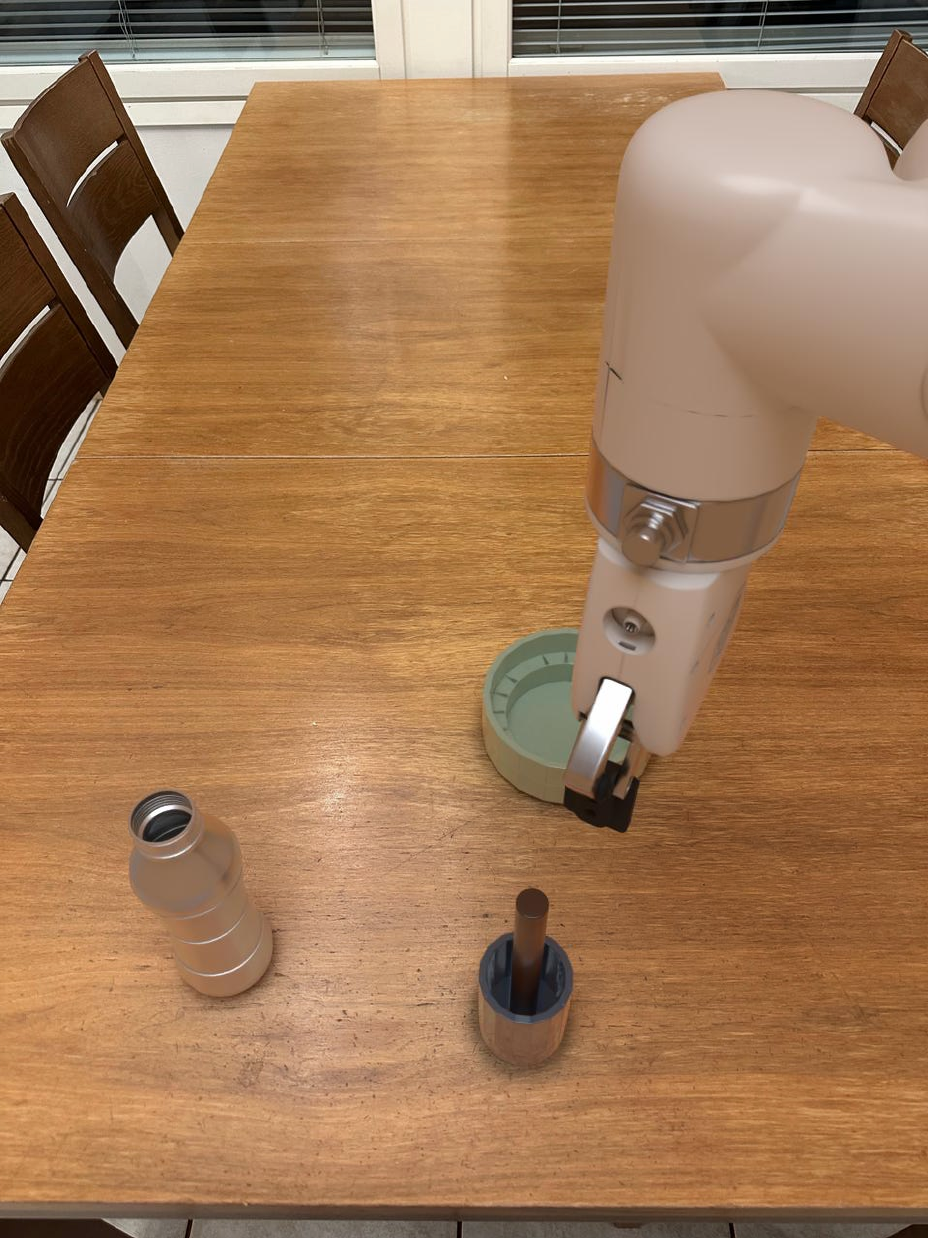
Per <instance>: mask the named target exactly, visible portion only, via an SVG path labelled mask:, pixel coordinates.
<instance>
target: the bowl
mask: <svg viewBox="0 0 928 1238" xmlns="http://www.w3.org/2000/svg"><path fill="white" fill-rule="evenodd" d="M579 630H580V628H574V627H561V628H559V627H558V628H551V629H542V630H539V631H536V632H533V633H531V634H529V635H526V636H525V635H524V636H523V637H520V638H518V639H516V641H514V642H513V643H511V644H510V645H509V646H507V647H506V648H504V649H503V650H502V651H500V652H499V653H498V655H497V656H496V658H495V659H494V661H493V662H492V664H491V665H490V666H489V668H488V670H487V671H486V673H485V678H484V683H483V687H482V692H481V711H482V712H481V717H482V718H481V723H482V724H481V730H482V731H481V732H482V737H483V742H484V747H485V748H484V749H485V751H486V754H487V755H488V757H489V759H490V761H491V762H492V764H493V765H494V767H495V769H496V771H497V772H498V773H499V774H500V775H501V776H502V777H503V778H505V779H506V780H507V782H509V783H510V784H511V785H512V786H513V787H515V788H516V789H517V790H519V791H522V792H524V793H525V794H527V795H530V796H532V797H534V798H536V799H539V800H540V801H544V802H550V803H554V804H555V803H556V804H562V805H564V804H563V801H564V792H565V784H564V783H563V782H562V779H563V775H564V772H565V770H566V767H567V764H568V760H569V758H570V755H571V752H572V749H573V746H574V743H575V741H576V738H577V735H578V732H579V729H580V726H581V723H582V721H583V720H582V721H581V722H578V721H577V719H576V717H575V715H574V713H573V710H572V706H571V688H572V676H573V668H574V661H575V654H576V648H577V642H578V636H579ZM632 710H633V705H631V706H630V709H629V711H628V713H627V716H626V718H625V719H628V720H630V721H631V715H632ZM629 744H630V741H627V740H625V739H622V738H620V737H617V739H616V742H615V744H614V746H613V749H612V751H611V753H610V756H609V758H608V760H610V761H613V762H615V763H617V764H620V765H622V763H623V761H624V758H625V755H626V752H627V750H628V747H629ZM652 755H653V753H651V752H648V751H645V750H644V751H643V753H642V756H641V759H640V762H639V764H638V767H637V770H636V773H635V775H634V776H635V777H636V778H637V779H639V778H640V777H641V776H642V775H643V773H644V772H645V769H646V767H647V765H648V763H649V761H650V759H651V757H652Z"/></svg>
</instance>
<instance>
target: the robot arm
mask: <svg viewBox="0 0 928 1238" xmlns="http://www.w3.org/2000/svg"><path fill="white" fill-rule="evenodd" d="M618 173H619V174H618V180H617V181H618V182H617V187H616V193H615V201H614V202H615V203H614V213H613V221H612V229H611V230H612V231H611V241H610V250H609V259H608V269H607V280H606V289H605V298H604V306H603V307H604V308H603V317H602V327H601V334H600V335H601V337H600V344H599V345H600V347H599V355H598V363H597V365H598V366H597V375H596V383H595V393H594V402H593V410H592V411H593V412H592V420H591V421H592V422H591V423H592V424H591V433H590V441H589V449H588V450H589V451H588V459H587V469H586V479H585V488H584V497H583V498H584V499H583V500H584V502H583V503H584V507H585V508H584V509H585V513H586V515H587V518H588V520H589V522H590V524H591V525H592V527H593V528H594V530H595V531H596V533H597V534H598V539H597V543H596V547H595V552H594V556H593V560H592V564H591V565H592V566H591V571H590V574H589V576H588V579H587V582H588V584H587V589H586V593H585V594H586V595H585V599H584V604H583V608H582V609H583V610H582V615H581V619H580V625H579V629H580V630H579V636H578V642H577V648H576V654H575V661H574V668H573V676H572V688H571V706H572V710H573V713H574V715H575V717H576V719H577V721H578V722H581V721H582V720H583V721H582V723H581V726H580V729H579V732H578V735H577V738H576V741H575V743H574V746H573V749H572V752H571V755H570V758H569V760H568V764H567V767H566V770H565V772H564V775H563V779H562V782H563V783H564V784H565V792H564V801H563V804H562V805H563V806H564V807H565V809H567V810H569V811H570V812H572V813H574V814H575V816H576V817H577V818H578V819H579V820H580V821H582V822H584V823H586V824H588V825H589V826H593V827H595V828H600V829H602V828H608V829H610V830H612V831H615V832H616V833H620V834H626V833H627V831H628V828H629V826H630V825H631V822H632V818H633V813H634V808H635V805H636V801H637V797H638V793H639V792H638V791H639V787H640V782H641V780H639V778H636V777H635V776H634V775H635V773H636V770H637V767H638V764H639V762H640V759H641V756H642V753H643V751H644V750H645V751H648V752H651V753H652V755H656V756H659V757H662V758H664V757H669V756H670V755H672V754H674V753H676V752H677V751H678V750H679V749H680V748H681V746H682V744H683V742H684V740H685V739H686V736H687V735H688V733H689V732H690V731H689V730H690V729H691V726H692V724H693V722H694V720H695V718H696V716H697V714H698V712H699V710H700V707H701V705H702V703H703V701H704V699H705V698H706V695H707V693H708V690H709V688H710V686H711V684H712V682H713V679H714V678H715V676H716V674H717V671H718V668H719V667H720V665H721V663H722V660H723V657H724V655H725V653H726V651H727V649H728V646H729V644H730V642H731V640H732V637H733V634H734V633H735V630H736V627H737V624H738V621H739V618H740V615H741V612H742V608H743V603H744V600H745V595H746V590H747V587H748V583H749V579H750V574H751V571H752V567H753V564H754V562H756V561H758V560H759V559H761V558H762V557H763V556H764V555H766V554H768V553H769V552H770V551H771V550H772V549H773V548H774V547H775V546H776V544H777V543H778V542H779V540H780V539H781V537H782V534H783V532H784V529H785V526H786V524H787V518H788V516H789V513H790V510H791V507H792V504H793V500H794V499H795V498H794V497H795V494H796V493H797V492H796V491H797V489H798V485H799V482H800V478H801V476H802V473H803V470H804V466H805V463H806V460H807V456H808V452H809V449H810V446H811V443H812V440H813V436H814V434H815V431H816V427H817V424H818V421H819V418H820V417H822V418H825V419H828V420H829V421H832V422H834V423H837V424H840V425H842V426H844V427H847V428H849V429H851V430H853V431H856V432H858V433H861V434H863V435H865V436H867V437H870V438H873V439H874V440H877V441H879V442H882V443H884V444H886V445H889V446H890V447H892V448H895V449H897V450H900V451H903V452H905V453H907V454H909V455H913V456H916V457H918V458H922V459H924V460H926V461H928V118H927V119H925V120H924V121H923V122H922V123H921V125H919V127H918V129H917V130H916V131H915V132H914V134H913V135H912V136H911V138H910V139H909V141H908V142H907V143H906V144H905V146H904V148H903V150H902V151H901V154H900V155H899V157H898V159H897V160H896V162H895V165H894V167H893V169H892V167H891V164H890V161H889V157H888V154H887V151H886V147H885V146H884V142H883V141H882V140H881V138H880V137H879V135H878V134H877V132H876V131H875V130H874V129H872V127H871V126H870V125H869V124H868V123H867V122H865V120H863V119H862V118H860V116H858V115H857V114H854V113H852V112H850V111H849V110H847V109H845V108H842V107H840V106H838V105H836V104H833V103H829V102H826V101H824V100H821V99H818V98H814V97H811V96H806V95H802V94H798V93H792V92H787V91H780V90H770V89H750V88H748V89H744V88H743V89H725V90H715V91H710V92H703V93H699V94H695V95H691V96H686V97H683V98H681V99H678V100H675V101H672V102H671V103H669V104H666V106H664V107H662V108H660V109H659V110H657V111H656V112H654V113H652V114H651V115H650V116H649V117H648V118H647V119H646V120H644V122H643V123H641V126H640V127H638V129H637V130H636V131H635V132H634V134H633V136H632V137H631V139H630V141H629V143H628V145H627V147H626V149H625V152H624V153H623V158H622V160H621V163H620V168H619V172H618ZM631 705H633V710H632V715H631V721H630V720H628V719H625V718H626V716H627V713H628V711H629V709H630V706H631ZM617 737H620V738H622V739H625V740H627V741H630V744H629V747H628V750H627V752H626V755H625V758H624V761H623V763H622V765H620V764H617V763H615V762H613V761H610V760H608V758H609V756H610V753H611V751H612V749H613V746H614V744H615V742H616V739H617Z"/></svg>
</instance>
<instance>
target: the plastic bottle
mask: <svg viewBox="0 0 928 1238" xmlns="http://www.w3.org/2000/svg"><path fill="white" fill-rule="evenodd" d="M127 827H128V832H129V834H130V836H131V838H132V843H133V844H134V845H133V846H132V849H131V852H130V855H129V859H128V860H129V861H128V880H129V885H130V887H131V888H130V889H131V890H132V892H133V894H134V895H135V896H136V897H137V899H138V900H139V902H141V904H142V905H143V906H144V907H145V908H146V909H147V910H148V911H150V913H151V914H152V915H153V916H155V917H156V919H158V920H159V921H160V923H161V924H162V926H163V927H164V928H165V930H166V932H167V933H168V935H169V938H170V939H169V940H170V942H171V944H172V954H173V959H174V962H175V964H174V965H175V967H176V969H177V971H178V974H179V976H180V977H181V978H182V980H183V981H184V982H185V983H186V984H188V985H189V987H190V986H191V987H192V988H193V989H195V991H197V992H199V993H201V994H203V995H205V996H210V997H214V998H225V997H231V996H234V995H238V994H241V993H243V992H245V991H246V990H248V989H250V988H251V987H252V986H254V985H255V984H256V983H258V982H259V980H260V979H261V978H262V977H263V976H264V975H265V973H266V971H267V969H268V968H269V966H270V963H271V961H272V957H273V951H274V936H273V934H274V933H273V930H272V927H271V923H270V922H269V920H268V918H267V917H266V916H265V914H264V913H263V911H262V910H261V908H259V907H258V906H257V905H256V904H255V903H254V902H253V900H252V898H251V896H250V895H249V893H248V890H247V887H246V883H245V878H244V867H243V866H244V864H243V854H242V850H241V845H240V841H239V839H238V837H237V835H236V834H235V831H233V830H232V828H230V826H229V825H227V824H226V823H225V822H224V821H223V820H221V819H220V818H218V817H217V816H215V815H212V814H211V813H208V812H202V811H200V809H199V807H197V806H196V804H195V802H194V800H193V799H192V798H191V797H190V796H189V795H188V794H187V793H186V792H184V791H182V790H179V789H174V788H163V789H157V790H154V791H152V792H149V793H148V794H146V795H144V796H142V797H141V798H140V799H139V800H137V802H136V803H135V804H134V805H133V806H132V808H131V810H130V812H129V814H128V818H127Z"/></svg>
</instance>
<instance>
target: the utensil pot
mask: <svg viewBox="0 0 928 1238" xmlns="http://www.w3.org/2000/svg"><path fill="white" fill-rule="evenodd" d="M513 938H514V930H513V931H510V932H507V933H504V934H501V935H500V936H499V937H498V938H496V939H495V940H494V941H492V942H491V943H490V944H488V946H487V948H486V950H485V951H484V954H483V955H482V957H481V958H480V961H479V967H478V979H477V982H478V983H477V984H478V985H477V988H478V990H477V991H478V993H477V994H478V997H477V998H478V1002H477V1003H478V1004H477V1005H478V1008H477V1009H478V1024H479V1025H478V1026H479V1031H480V1035H481V1038H482V1040H483V1042H484V1043H485V1046H486V1047H487V1048H488V1049H489V1051H490V1052H491V1053H492V1055H494V1056H496V1057H497V1058H498V1059H500V1060H501V1061H503V1062H505V1063H507V1064H511V1065H513V1066H521V1067H526V1066H533V1065H537V1064H539V1063H542V1062H544V1061H546V1060H547V1059H548V1058H550V1057H551V1056H552V1055H553V1054H554V1053H555V1052H556V1050H557V1049H558V1048H559V1046H560V1045H561V1043H562V1040H563V1038H564V1033H565V1028H566V1026H567V1022H568V1016H569V1012H570V1007H571V1002H572V995H573V991H574V969H573V966H572V964H571V961H570V957H569V955H568V953H567V952H566V951H565V949H564V948H563V947H562V946H561V945H560V944H559V943H558V941H556V940H555V939H554V938H552V937H550V936H548V935H546V936H545V944H544V952H543V961H542V969H541V977H540V986H539V994H538V1002H537V1011H536V1015H533V1016H527V1015H517V1014H514V1013H512V1012H510V1011H509V1005H510V988H511V972H512V955H513Z"/></svg>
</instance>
